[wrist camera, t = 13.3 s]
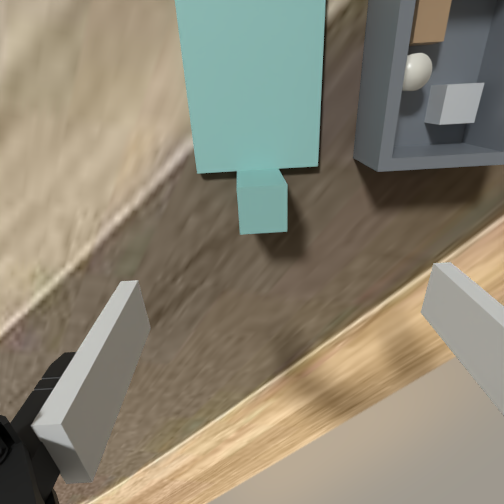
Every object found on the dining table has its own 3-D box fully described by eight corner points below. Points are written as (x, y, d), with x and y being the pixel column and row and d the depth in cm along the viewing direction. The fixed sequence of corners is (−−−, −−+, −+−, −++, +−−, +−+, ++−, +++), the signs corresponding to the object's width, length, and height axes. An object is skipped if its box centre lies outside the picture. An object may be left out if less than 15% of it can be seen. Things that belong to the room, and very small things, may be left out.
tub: (374, -62, 23) (415, -108, 18) (519, -69, 23) (603, -117, 18) (353, 158, 31) (377, 171, 25) (463, 151, 31) (511, 163, 25)
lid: (169, -55, 23) (144, -110, 17) (325, -62, 23) (357, -120, 17) (203, 209, 32) (195, 237, 26) (313, 203, 33) (331, 228, 26)
